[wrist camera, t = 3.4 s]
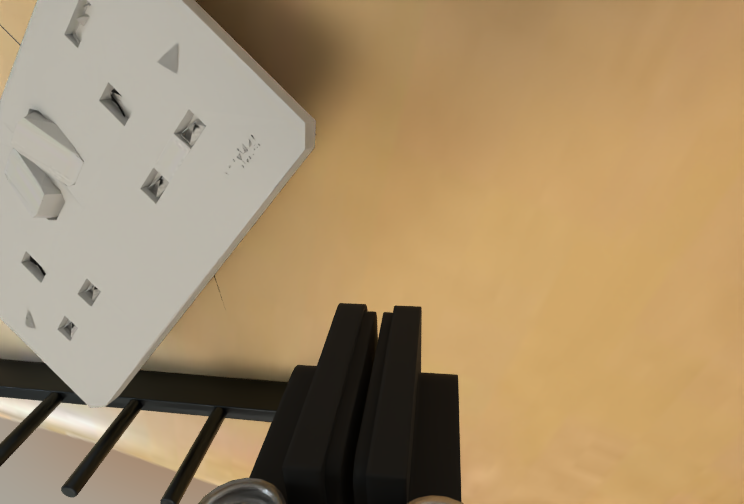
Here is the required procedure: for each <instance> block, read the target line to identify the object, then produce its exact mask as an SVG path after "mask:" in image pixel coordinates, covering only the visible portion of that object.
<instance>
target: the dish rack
mask: <svg viewBox="0 0 744 504" xmlns="http://www.w3.org/2000/svg"><path fill="white" fill-rule="evenodd" d="M287 384H288V383H286V382H274V381H261V380H249V379H237V378H224V377H212V376H199V375H187V374H174V373H162V372H149V371H138V372H137V374H136V375H135V376H134V378H133V379H132V380H131V381H130V383H129V384H128V385H127V386H126V388H125V389H124V390H123V391H122V393H121V394H120V395H119V396H118V397H117V398H116V399H115V400H113V401H112V402H111V403H109V404H108V405H107V406H106V407H115V408H124V409H123V410H122V411H121V413H120V414H119V415H118V416H117V418H116V419H115V420H114V422H113V423H112V424H111V425H110V427H109V428H108V429H107V430H106V432H105V433H104V434H103V435H102V437H101V438H100V439H99V441H98V442H97V443H96V444H95V446H94V447H93V448H92V449H91V451H90V452H89V453H88V455H87V456H86V457H85V458H84V460H83V461H82V462H81V463H80V465H79V466H78V467H77V469H76V470H75V471H74V473H73V474H72V475H71V476H70V477H69V479H68V480H67V481H66V482H65V484H64V485H63V486H62V488H61V491H62V492H63V494H64V495H66V496H68V497H75V496H77V495H78V493H79V492H80V491H81V489H82V488H83V487H84V485H85V484H86V483H87V481H88V480H89V478H90V477H91V476H92V475H93V473H94V472H95V470H96V469H97V468H98V466H99V465H100V463H101V462H102V461H103V460H104V458H105V457H106V456H107V454H108V453H109V452H110V450H111V449H112V448H113V446H114V445H115V444H116V442H117V441H118V440H119V438H120V437H121V436H122V434H123V433H124V432H125V430H126V429H127V428H128V426H129V425H130V424H131V422H132V421H133V420H134V418H135V417H136V415H137V414H138V413H139V411H140V410H147V411H157V412H168V413H179V414H190V415H200V416H209V418H208V419H207V421H206V423H205V424H204V426H203V428H202V430H201V431H200V433H199V435H198V437H197V438H196V440H195V442H194V444H193V445H192V447H191V449H190V450H189V452H188V454H187V456H186V457H185V459H184V461H183V463H182V464H181V466H180V468H179V470H178V471H177V473H176V475H175V477H174V478H173V480H172V482H171V483H170V485H169V487H168V489H167V490H166V492H165V494H164V496H163V497H162V499H161V504H179V502H180V500H181V499H182V497H183V495H184V493H185V491H186V489H187V487H188V486H189V484H190V482H191V480H192V478H193V476H194V474H195V473H196V471H197V469H198V467H199V465H200V463H201V461H202V460H203V458H204V456H205V454H206V452H207V450H208V448H209V447H210V445H211V443H212V441H213V439H214V437H215V435H216V434H217V432H218V430H219V428H220V426H221V424H222V422H223V421H224V419H225V418H232V419H243V420H254V421H265V422H272V421H273V418H274V416H275V413H276V411H277V409H278V406H279V404H280V401H281V399H282V396H283V394H284V391H285V389H286V386H287ZM0 397H8V398H18V399H29V400H40V401H42V402H41V403H40V404H39V405H38V406H37V407H36V408H35V409H34V410H33V411H32V412H31V413H30V414H29V415H28V416H27V417H26V418H25V419H24V420H23V421H22V422H21V423H20V425H18V426H17V427H16V429H14V430H13V431H12V432H11V433H10V435H9V436H7V437H6V438H5V440H4V441H2V442H1V444H0V466H1V465H2V464H3V463H4V462H5V461H6V460H7V459H8V458H9V457H10V456H11V454H13V452H14V451H15V450H16V449H17V448H18V447H19V446H20V445H21V444H22V443H23V442H24V441H25V440H26V439H27V438H28V437H29V436H30V434H31V433H33V431H34V430H35V429H36V428H37V427H38V426H39V425H40V424H41V423H42V422H43V421H44V420H45V419H46V418H47V417H48V416H49V415H50V414H51V412H52V411H53V410H54V409H55V408H56V407H57V406H58V405H59V404H60V403H72V404H82V405H87V404H86V403H85V402H84V401H83V400H82V399H81V398H80V397H79V396H78V395H77V394H76V393H75V392H74V391H73V390H72V389H71V388H70V387H69V386H68V385H67V384H66V383H65V382H64V381H63V380H62V379H61V378H60V377H59V376H58V375H57V374H56V373H55V372H54V371H53V370H52V369H51V368H50V367H49V366H48V365H47V364H46V363H37V362H25V361H12V360H0Z"/></svg>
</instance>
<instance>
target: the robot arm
mask: <svg viewBox="0 0 744 504" xmlns="http://www.w3.org/2000/svg"><path fill="white" fill-rule="evenodd" d="M198 504H463V503H462V502H461V471H460V433H459V394H458V375H452V374H435V373H421V307H415V306H394V310H393V313H389V312H384V313H383V318H382V323H381V328H380V333H379V338H378V334H377V314H376V312H367V306H366V304H346V303H340V304H339V305H338V307H337V310H336V313H335V316H334V319H333V321H332V324H331V327H330V330H329V333H328V336H327V339H326V342H325V344H324V347H323V350H322V353H321V356H320V359H319V362H318V365H317V366H305V365H297V366H296V367H295V368H294V370H293V372H292V374H291V377H290V379H289V381H288V384H287V386H286V389H285V391H284V394H283V396H282V399H281V401H280V404H279V406H278V409H277V411H276V413H275V416H274V418H273V421H272V423H271V426H270V428H269V431H268V433H267V436H266V438H265V441H264V443H263V445H262V448H261V450H260V453H259V455H258V458H257V460H256V463H255V465H254V468H253V470H252V473H251V475H250V477H249V478H243V479H238V480H232V481H230V482H227V483H225V484H223V485H221V486H218V487H217V488H215V489H214V490H213V491H211V492H210V493H209V494H207V495H206V496H205V497H204V498H203V499H202V500H201V501H200V502H199V503H198Z"/></svg>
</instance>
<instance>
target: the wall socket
mask: <svg viewBox="0 0 744 504" xmlns="http://www.w3.org/2000/svg"><path fill="white" fill-rule="evenodd" d="M0 26H1V25H0ZM1 27H2V26H1ZM2 28H3V27H2ZM3 29H4V28H3ZM4 30H5V29H4ZM5 31H6V30H5ZM6 32H7V31H6ZM7 33H8V32H7ZM8 34H9V33H8ZM9 35H10V34H9ZM10 36H11V35H10ZM11 37H12V36H11ZM12 38H13V37H12ZM13 39H14V38H13ZM14 40H15V39H14ZM15 41H16V40H15ZM16 42H17V41H16ZM17 43H18V42H17ZM18 44H19V43H18ZM19 45H20V44H19ZM315 131H316V120H315V119H314V118H313V117H312V116H311V115H310V114H309V113H308V112H306V111H305V110H304V109H303V108H302V107H301V106H300V105H299V104H298V103H297V102H296V101H295V100H294V99H293V98H292V97H291V96H290V95H289V94H288V93H287V92H286V91H285V90H284V89H283V88H282V87H281V86H280V85H279V84H278V83H277V82H276V81H275V80H274V79H273V78H272V77H271V76H270V75H269V74H268V73H267V72H266V71H265V70H264V69H263V68H262V67H261V66H260V65H259V64H258V63H257V62H256V61H255V60H254V59H253V58H252V57H251V56H250V55H249V54H248V53H247V52H246V51H245V50H244V49H243V48H242V47H241V46H240V45H239V44H238V43H237V42H236V41H235V40H234V39H233V38H232V37H231V36H230V35H229V34H228V33H227V32H226V31H225V30H224V29H223V28H222V27H221V26H220V25H219V24H218V23H217V22H216V21H215V20H214V19H213V18H212V17H211V16H210V15H209V14H208V13H207V12H206V11H205V10H204V9H203V8H202V7H201V6H200V5H199V4H198V3H197V2H196V1H195V0H37V2H36V5H35V8H34V11H33V13H32V16H31V19H30V21H29V24H28V27H27V29H26V32H25V35H24V37H23V40H22V43H21V45H20V48H19V51H18V54H17V56H16V59H15V62H14V64H13V67H12V70H11V72H10V75H9V78H8V80H7V83H6V86H5V89H4V91H3V94H2V97H1V99H0V319H1V320H2V321H3V322H4V323H5V324H6V325H7V326H8V327H9V328H10V329H11V330H12V331H13V332H14V333H15V334H16V335H17V336H18V337H19V338H20V339H21V340H22V341H23V342H24V343H25V344H26V345H27V346H28V347H29V348H30V349H31V350H32V351H33V352H34V353H35V354H36V355H37V356H38V357H39V358H40V359H41V360H42V361H43V362H45V363H46V364H47V365H48V366H49V367H50V368H51V369H52V370H53V371H54V372H55V373H56V374H57V375H58V376H59V377H60V378H61V379H62V380H63V381H64V382H65V383H66V384H67V385H68V386H69V387H70V388H71V389H72V390H73V391H74V392H75V393H76V394H77V395H78V396H79V397H80V398H81V399H82V400H83V401H84V402H85V403H86V404H87V405H88V406H89V407H90V408H95V407H106V406H107V405H108V404H109V403H111V402H112V401H113V400H115V399H116V398H117V397H118V396H119V395H120V394H121V393H122V391H123V390H124V389H125V388H126V386H127V385H128V384H129V383H130V381H131V380H132V379H133V378H134V376H135V375H136V374H137V372H138V371H139V370H140V369H141V367H142V366H143V365H144V364H145V362H146V361H147V360H148V358H149V357H150V356H151V355H152V353H153V352H154V351H155V350H156V348H157V347H158V346H159V344H160V343H161V342H162V341H163V339H164V338H165V337H166V336H167V334H168V333H169V332H170V331H171V329H172V328H173V327H174V325H175V324H176V323H177V322H178V320H179V319H180V318H181V317H182V315H183V314H184V313H185V311H186V310H187V309H188V308H189V306H190V305H191V304H192V303H193V301H194V300H195V299H196V297H197V296H198V295H199V294H200V292H201V291H202V290H203V289H204V287H205V286H206V285H207V284H208V282H209V281H210V280H211V278H212V277H213V276H214V275H215V273H216V272H217V271H218V270H219V268H220V267H221V266H222V264H223V263H224V262H225V261H226V259H227V258H228V257H229V256H230V254H231V253H232V252H233V250H234V249H235V248H236V247H237V245H238V244H239V243H240V242H241V240H242V239H243V238H244V236H245V235H246V234H247V233H248V231H249V230H250V229H251V228H252V226H253V225H254V224H255V223H256V221H257V220H258V219H259V217H260V216H261V215H262V214H263V212H264V211H265V210H266V209H267V207H268V206H269V205H270V203H271V202H272V201H273V200H274V198H275V197H276V196H277V195H278V193H279V192H280V191H281V189H282V188H283V187H284V186H285V184H286V183H287V182H288V181H289V179H290V178H291V177H292V176H293V174H294V173H295V172H296V170H297V169H298V168H299V167H300V165H301V164H302V163H303V162H304V160H305V159H306V158H307V156H308V155H309V154H310V153H311V151H312V150H313V149H314V148H315V135H316V134H315ZM214 277H215V276H214ZM215 280H216V279H215ZM216 283H217V282H216ZM217 286H218V285H217ZM218 289H219V288H218ZM219 292H220V291H219ZM220 295H221V294H220ZM221 298H222V297H221ZM222 301H223V300H222Z"/></svg>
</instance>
